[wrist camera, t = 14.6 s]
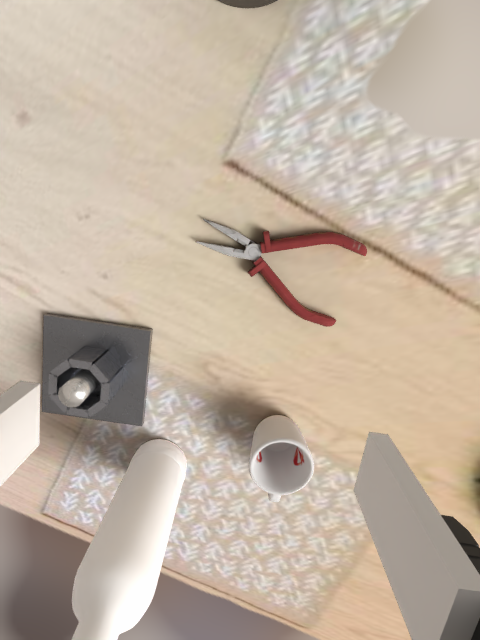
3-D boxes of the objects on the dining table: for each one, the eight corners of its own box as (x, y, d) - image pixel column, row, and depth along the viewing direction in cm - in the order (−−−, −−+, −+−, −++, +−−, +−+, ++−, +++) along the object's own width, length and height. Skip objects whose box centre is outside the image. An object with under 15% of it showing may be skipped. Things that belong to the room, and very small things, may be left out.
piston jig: (47, 313, 50) (10, 330, 42) (152, 328, 50) (134, 348, 42) (45, 408, 54) (11, 439, 46) (143, 422, 54) (126, 456, 46)
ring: (68, 342, 50) (49, 355, 45) (124, 351, 50) (111, 365, 45) (66, 393, 52) (47, 411, 47) (120, 401, 52) (106, 420, 47)
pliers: (215, 185, 46) (214, 183, 43) (366, 244, 47) (373, 245, 45) (186, 273, 49) (182, 275, 46) (329, 326, 50) (333, 332, 48)
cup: (298, 476, 55) (305, 518, 48) (244, 471, 55) (243, 511, 48) (308, 410, 53) (319, 442, 45) (252, 404, 53) (252, 435, 45)
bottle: (152, 493, 57) (51, 777, 28) (123, 452, 55) (-18, 709, 26) (198, 470, 56) (141, 743, 26) (169, 428, 54) (75, 669, 25)
